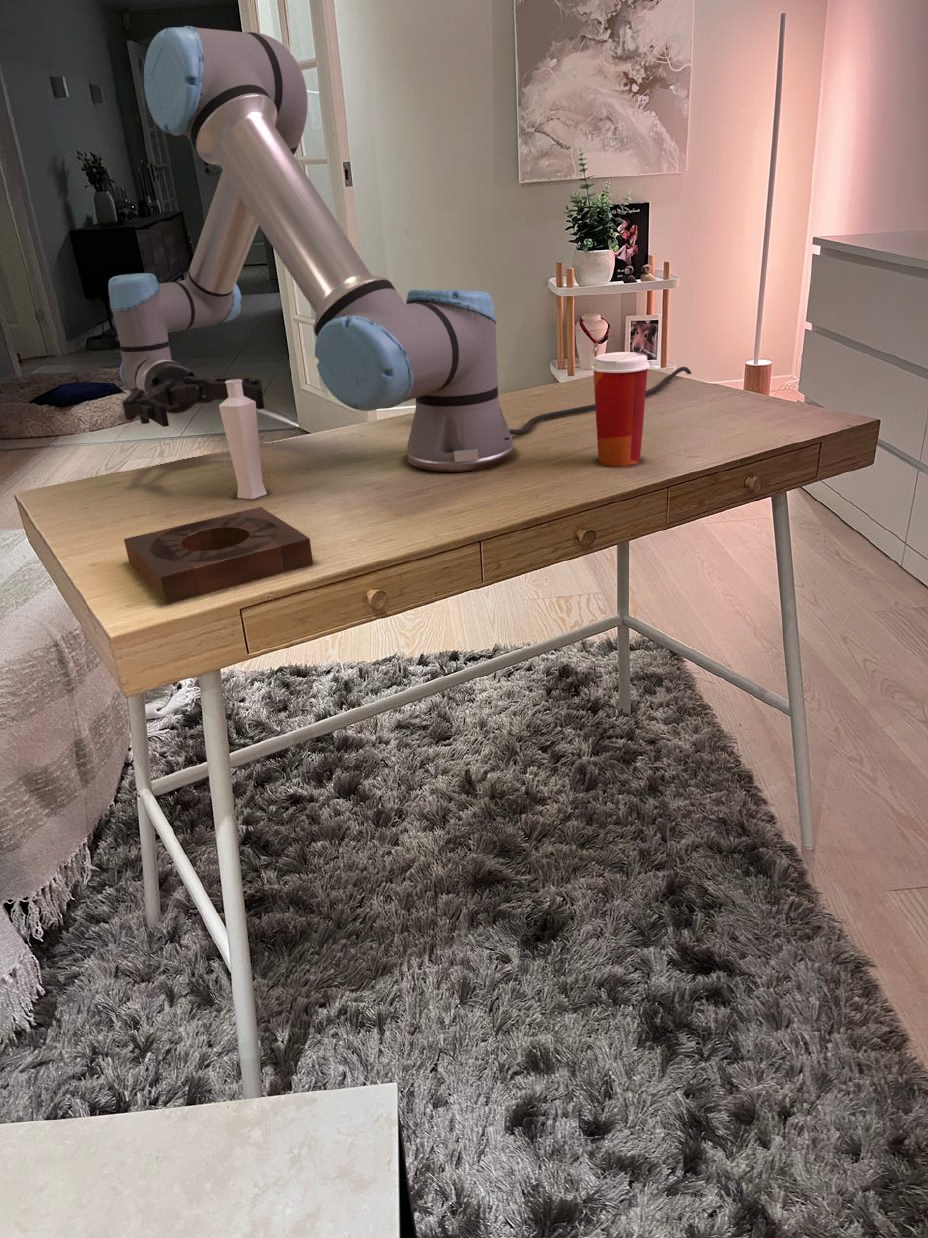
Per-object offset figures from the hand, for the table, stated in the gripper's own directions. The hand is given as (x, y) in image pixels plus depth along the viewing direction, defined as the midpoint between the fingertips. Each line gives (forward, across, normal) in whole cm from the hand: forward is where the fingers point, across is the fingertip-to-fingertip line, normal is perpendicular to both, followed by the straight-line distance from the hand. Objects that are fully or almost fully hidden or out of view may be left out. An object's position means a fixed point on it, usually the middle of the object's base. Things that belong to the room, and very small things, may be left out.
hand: (213, 407), depth 128 cm
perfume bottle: (+10, 0, -10) cm, 14 cm away
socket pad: (+32, +12, -10) cm, 35 cm away
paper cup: (+32, -45, -10) cm, 56 cm away
